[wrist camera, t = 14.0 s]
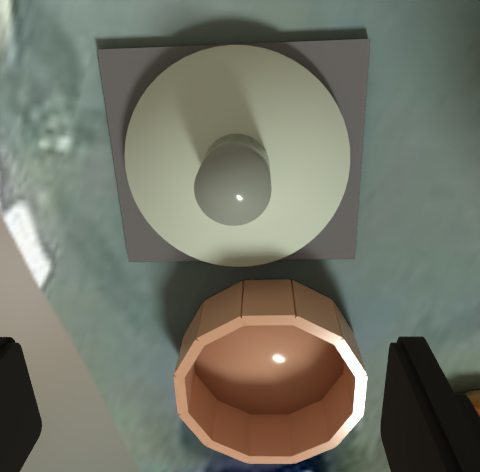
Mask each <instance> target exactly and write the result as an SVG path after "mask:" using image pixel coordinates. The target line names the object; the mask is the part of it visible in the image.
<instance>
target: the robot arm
mask: <svg viewBox="0 0 480 472" xmlns="http://www.w3.org/2000/svg"><path fill="white" fill-rule="evenodd" d="M41 429H42V421H41V417H40V414H39V410H38V406H37V403H36V399H35V395H34V391H33V388H32V384H31V381H30V377H29V373H28V370H27V366H26V362H25V359H24V355H23V351H22V348H21V345H20V344H19V343H15V340H13V338H11V337H0V472H19V471H20V470H21V468H22V466H23V465H24V463H25V461H26V459H27V457H28V456H29V454H30V452H31V450H32V449H33V447H34V445H35V443H36V442H37V440H38V438H39V436H40V433H41ZM381 438H382V442H383V446H384V449H385V452H386V456H387V459H388V463H389V466H390V470H391V472H480V416H479V415H478V413H477V411H476V409H475V408H474V406H473V404H472V402H471V401H470V399H469V398H468V396H467V395H466V394H464V393H454V392H453V390H452V388H451V386H450V385H449V383H448V381H447V379H446V377H445V375H444V373H443V371H442V370H441V368H440V366H439V364H438V362H437V360H436V358H435V356H434V355H433V353H432V351H431V349H430V347H429V345H428V343H427V341H426V340H425V338H424V337H399V338H398V340H397V343H390V347H389V355H388V364H387V372H386V381H385V390H384V399H383V408H382V417H381Z"/></svg>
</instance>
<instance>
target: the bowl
mask: <svg viewBox="0 0 480 472" xmlns="http://www.w3.org/2000/svg"><path fill="white" fill-rule="evenodd" d="M366 384H367V373H366V370H365V367H364V364H363V361H362V358H361V354H360V351H359V348H358V345H357V342H356V339H355V335H354V333H353V331H352V329H351V328H350V326H349V325H348V323H347V322H346V320H345V318H344V317H343V315H342V314H341V312H340V310H339V309H338V307H337V306H336V304H335V302H334V301H332V299H330V298H328V297H326V296H324V295H322V294H320V293H318V292H316V291H314V290H312V289H310V288H308V287H306V286H304V285H302V284H300V283H298V282H296V281H294V280H292V281H291V279H277V280H244V282H243V280H242V281H240V282H238V283H237V284H235V285H233V286H231V287H229V288H227V289H225V290H223V291H222V292H220V293H218V294H216V295H214V296H212V297H210V298H208V299H206V300H205V301H204V302H203V303H202V305H201V306H200V308H199V310H198V311H197V313H196V315H195V317H194V318H193V320H192V322H191V323H190V325H189V327H188V329H187V330H186V332H185V334H184V337H183V341H182V345H181V349H180V353H179V357H178V361H177V364H176V368H175V372H174V385H175V393H176V402H177V410H178V414H179V416H180V418H181V419H182V420H183V421H184V422H185V423H186V424H187V426H188V427H189V428H190V429H191V430H192V431H193V433H194V434H195V435H196V436H197V437H198V438H199V439H200V441H201V442H202V443H203V444H204V445H206V447H209V448H211V449H213V450H216V451H218V452H221V453H223V454H226V455H228V456H230V457H233V458H235V459H238V460H240V461H242V462H245V463H247V462H248V463H251V464H293V462H294V463H297V462H300V461H302V460H305V459H307V458H310V457H312V456H315V455H317V454H320V453H322V452H325V451H327V450H330V449H332V448H335V446H337V445H338V444H339V443H340V442H341V441H342V440H343V438H344V437H345V436H346V435H347V434H348V433H349V432H350V430H351V429H352V428H353V427H354V426H355V425H356V423H357V422H358V421H359V420H360V419H361V418H362V416H363V414H364V406H365V395H366Z"/></svg>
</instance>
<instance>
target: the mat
mask: <svg viewBox="0 0 480 472" xmlns="http://www.w3.org/2000/svg"><path fill="white" fill-rule="evenodd" d="M225 45H250V46H256V47H261V48H265V49H269V50H272V51H275V52H278V53H280V54H282V55H284V56H286V57H288V58H290V59H292V60H294V61H296V62H297V63H298V64H300V65H301V66H303V67H304V68H306V69H307V70H308V71H310V72H311V73H312V74H313V75H314V76H315V77H316V78H317V79H318V80H319V81H320V82H321V83H322V84H323V85H324V87H325V88H326V89H327V90H328V91H329V93H330V94H331V96H332V97H333V99H334V101H335V102H336V104H337V106H338V108H339V110H340V112H341V114H342V117H343V119H344V122H345V126H346V129H347V132H348V138H349V145H350V170H349V178H348V182H347V185H346V189H345V193H344V195H343V197H342V200H341V202H340V205H339V207H338V208H337V210H336V212H335V214H334V215H333V217H332V218H331V220H330V221H329V222H328V224H327V225H326V226H325V228H324V229H323V230H322V231H321V232H320V233H319V234H318V235H317V236H316V237H315V238H314V239H313V240H311V241H310V242H309V243H308V244H306V245H305V246H304V247H302V248H301V249H299V250H297V251H296V252H294V253H293V254H290V255H288V256H286V257H284V258H282V259H279V260H306V259H355V250H356V236H357V222H358V208H359V194H360V180H361V165H362V151H363V137H364V123H365V109H366V95H367V81H368V67H369V52H370V39H348V40H322V41H297V42H271V43H246V44H220V45H195V46H170V47H144V48H119V49H97V52H98V59H99V65H100V72H101V79H102V85H103V92H104V99H105V105H106V112H107V119H108V126H109V132H110V139H111V146H112V152H113V159H114V166H115V172H116V179H117V186H118V192H119V199H120V206H121V212H122V219H123V226H124V233H125V239H126V246H127V253H128V259H129V262H173V261H201V260H199V259H196V258H194V257H191V256H189V255H187V254H185V253H183V252H182V251H180V250H178V249H176V248H175V247H174V246H172V245H171V244H169V243H168V242H167V241H165V240H164V239H163V238H162V237H161V236H160V235H159V234H158V233H157V232H156V231H155V230H154V229H153V228H152V227H151V225H150V224H149V223H148V222H147V221H146V219H145V218H144V216H143V215H142V213H141V212H140V210H139V208H138V206H137V204H136V202H135V200H134V198H133V195H132V193H131V190H130V187H129V184H128V179H127V174H126V169H125V140H126V135H127V130H128V126H129V123H130V120H131V117H132V114H133V111H134V109H135V107H136V105H137V103H138V102H139V100H140V98H141V97H142V95H143V94H144V92H145V91H146V89H147V88H148V86H149V85H150V84H151V83H152V82H153V81H154V80H155V79H156V78H157V77H158V76H159V75H160V74H161V73H162V72H163V71H165V70H166V69H167V68H168V67H170V66H171V65H172V64H174V63H176V62H177V61H179V60H181V59H182V58H184V57H186V56H189V55H191V54H193V53H196V52H198V51H201V50H205V49H209V48H213V47H216V46H225Z"/></svg>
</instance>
